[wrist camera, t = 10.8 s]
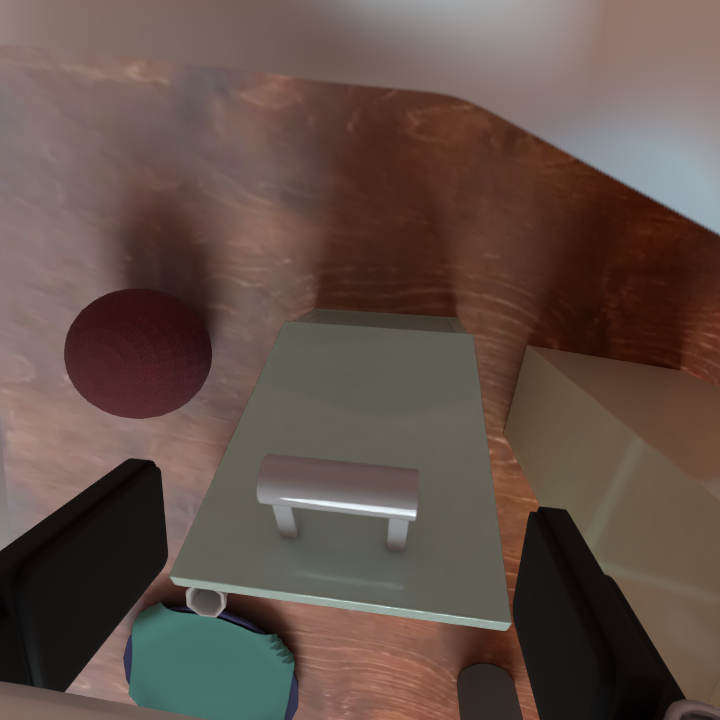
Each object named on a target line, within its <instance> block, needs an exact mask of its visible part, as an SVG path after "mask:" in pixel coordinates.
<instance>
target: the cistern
mask: <svg viewBox="0 0 720 720" xmlns="http://www.w3.org/2000/svg"><path fill="white" fill-rule="evenodd" d="M503 434H504V436H505V438H506V440H507V442H508V444H509V446H510V448H511V450H512V452H513V454H514V456H515V458H516V460H517V462H518V464H519V466H520V468H521V470H522V472H523V474H524V475H525V477H526V479H527V481H528V483H529V485H530V487H531V489H532V491H533V493H534V495H535V497H536V499H537V501H538V503H539V505H540V506H543V507H551V508H560V509H566V510H567V511H568V512H569V514H570V516H571V517H572V519H573V521H574V523H575V524H576V526H577V528H578V529H579V531H580V533H581V535H582V536H583V538H584V540H585V541H586V543H587V545H588V547H589V548H590V550H591V552H592V553H593V555H594V557H595V559H596V560H597V562H598V564H599V565H600V567H601V569H602V571H603V572H604V574H605V575H609V576H610V577H612V578H613V579H614V581H615V582H616V583H617V585H618V586H619V588H620V590H621V591H622V593H623V595H624V596H625V598H626V600H627V601H628V603H629V604H630V606H631V608H632V609H633V611H634V613H635V614H636V616H637V618H638V619H639V621H640V623H641V624H642V626H643V628H644V629H645V631H646V633H647V634H648V636H649V638H650V639H651V641H652V643H653V644H654V646H655V648H656V649H657V651H658V653H659V654H660V656H661V657H662V659H663V661H664V662H665V664H666V666H667V667H668V669H669V671H670V672H671V674H672V676H673V677H674V679H675V681H676V682H677V684H678V686H679V687H680V689H681V691H682V692H683V694H684V696H685V697H686V699H687V700H698V701H701V702H704V703H707V704H710V705H713V706H716V707H718V708H719V709H720V388H719V387H717V386H715V385H712V384H710V383H708V382H706V381H703V380H701V379H699V378H697V377H694V376H692V375H690V374H688V373H685V372H683V371H681V370H675V369H669V368H663V367H657V366H651V365H645V364H639V363H633V362H627V361H621V360H615V359H608V358H602V357H596V356H590V355H584V354H578V353H572V352H566V351H560V350H554V349H548V348H542V347H536V346H530V345H527V346H526V350H525V354H524V358H523V362H522V365H521V369H520V373H519V377H518V380H517V384H516V388H515V392H514V396H513V399H512V403H511V407H510V411H509V414H508V418H507V422H506V426H505V430H504V433H503Z"/></svg>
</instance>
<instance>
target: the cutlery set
mask: <svg viewBox="0 0 720 720" xmlns="http://www.w3.org/2000/svg"><path fill="white" fill-rule="evenodd" d="M162 603H163V602H162V601H161V602H159V603H158V604H156V605H154V606H151V607H149V608H147V609H145V610H144V611H142V612H141V613H140V614H139V616H138V617H137V618H136V620H135V622H134V625H133V629H132V634H131V636H130V637H129V638H128V642H127V646H126V649H125V653H124V657H123V659H124V667H125V674H126V680H127V682H128V684H129V695H130V697H131V698H132V699H133V700H134V701H135V703H136V704H137V705H138V706H141V707H146V708H151V709H157V710H162V711H167V712H172V713H178V714H183V715H188V716H193V717H199V718H204V719H209V720H292V719H293V716H294V714H295V712H296V710H297V708H298V680H297V678H296V675H295V672H294V664H295V661H294V657H293V654H292V653H291V652H290V651H289V650H288V648H287V647H286V646H285V645H284V644H283V643H282V640H281V639H280V638H279V637H278V636H277V634H273V635H267V634H266V633H265V632H263V631H262V630H261V629H259V628H258V627H256V626H255V625H254V624H252V623H251V622H250V621H248V620H246V619H243V618H241V617H238V616H236V615H234V614H231V613H229V612H226V611H224V610H222V612H221V613H220V614H219V615H218V616H217V617H208V616H200V615H199V614H197V613H196V612H195V611H193V610H192V609H190V608H189V607H188V606H181V607H174V608H165V607H164V606H163V605H162Z"/></svg>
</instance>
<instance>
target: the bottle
mask: <svg viewBox="0 0 720 720" xmlns="http://www.w3.org/2000/svg"><path fill="white" fill-rule="evenodd" d="M457 691H458V702H459V712H460V720H523V717H522V713H521V709H520V705H519V701H518V697H517V693H516V689H515V685H514V682H513V680H512V678H511V676H510V675H509V674H508V673H507V672H506V671H505V670H503V669H502V668H500V667H498V666H495V665H491V664H476V665H472V666H470V667H468V668H466V669H465V670H463V671H462V672H461V673H460V675H459V677H458V680H457Z"/></svg>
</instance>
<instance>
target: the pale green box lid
mask: <svg viewBox="0 0 720 720" xmlns="http://www.w3.org/2000/svg"><path fill="white" fill-rule="evenodd" d="M169 577H170V579H171V580H172V581H173V583H174V584H175V585H178V586H186V587H193V588H200V589H207V590H214V591H221V592H229V593H236V594H243V595H250V596H257V597H264V598H272V599H279V600H286V601H293V602H300V603H307V604H315V605H322V606H329V607H336V608H343V609H350V610H358V611H365V612H372V613H379V614H386V615H393V616H401V617H408V618H415V619H422V620H429V621H436V622H444V623H451V624H458V625H465V626H472V627H479V628H487V629H494V630H501V631H507V630H508V628H509V627H510V625H511V624H512V620H511V612H510V605H509V597H508V590H507V582H506V575H505V568H504V560H503V553H502V545H501V538H500V530H499V523H498V515H497V508H496V500H495V493H494V485H493V478H492V470H491V463H490V456H489V448H488V441H487V433H486V426H485V418H484V411H483V403H482V396H481V388H480V381H479V373H478V366H477V359H476V351H475V344H474V336H473V334H464V333H450V332H436V331H421V330H407V329H393V328H378V327H364V326H350V325H336V324H321V323H307V322H293V321H285V322H284V324H283V326H282V328H281V331H280V333H279V335H278V337H277V339H276V342H275V344H274V346H273V348H272V350H271V353H270V355H269V357H268V359H267V361H266V364H265V366H264V368H263V370H262V372H261V375H260V377H259V379H258V381H257V383H256V386H255V388H254V390H253V392H252V394H251V397H250V399H249V401H248V403H247V405H246V408H245V410H244V412H243V414H242V416H241V419H240V421H239V423H238V425H237V427H236V430H235V432H234V434H233V436H232V438H231V441H230V443H229V445H228V447H227V449H226V452H225V454H224V456H223V458H222V460H221V463H220V465H219V467H218V469H217V471H216V474H215V476H214V478H213V480H212V482H211V484H210V487H209V489H208V491H207V493H206V495H205V498H204V500H203V502H202V504H201V506H200V509H199V511H198V513H197V515H196V517H195V520H194V522H193V524H192V526H191V528H190V531H189V533H188V535H187V537H186V539H185V542H184V544H183V546H182V548H181V550H180V553H179V555H178V557H177V559H176V561H175V564H174V566H173V568H172V570H171V572H170V575H169Z"/></svg>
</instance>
